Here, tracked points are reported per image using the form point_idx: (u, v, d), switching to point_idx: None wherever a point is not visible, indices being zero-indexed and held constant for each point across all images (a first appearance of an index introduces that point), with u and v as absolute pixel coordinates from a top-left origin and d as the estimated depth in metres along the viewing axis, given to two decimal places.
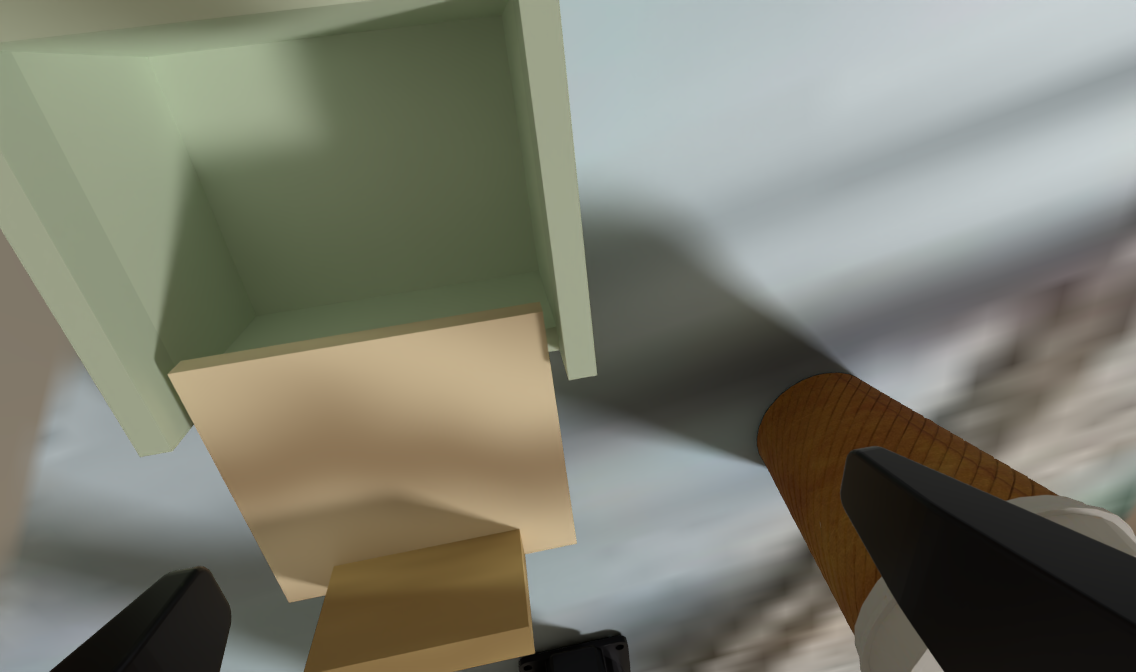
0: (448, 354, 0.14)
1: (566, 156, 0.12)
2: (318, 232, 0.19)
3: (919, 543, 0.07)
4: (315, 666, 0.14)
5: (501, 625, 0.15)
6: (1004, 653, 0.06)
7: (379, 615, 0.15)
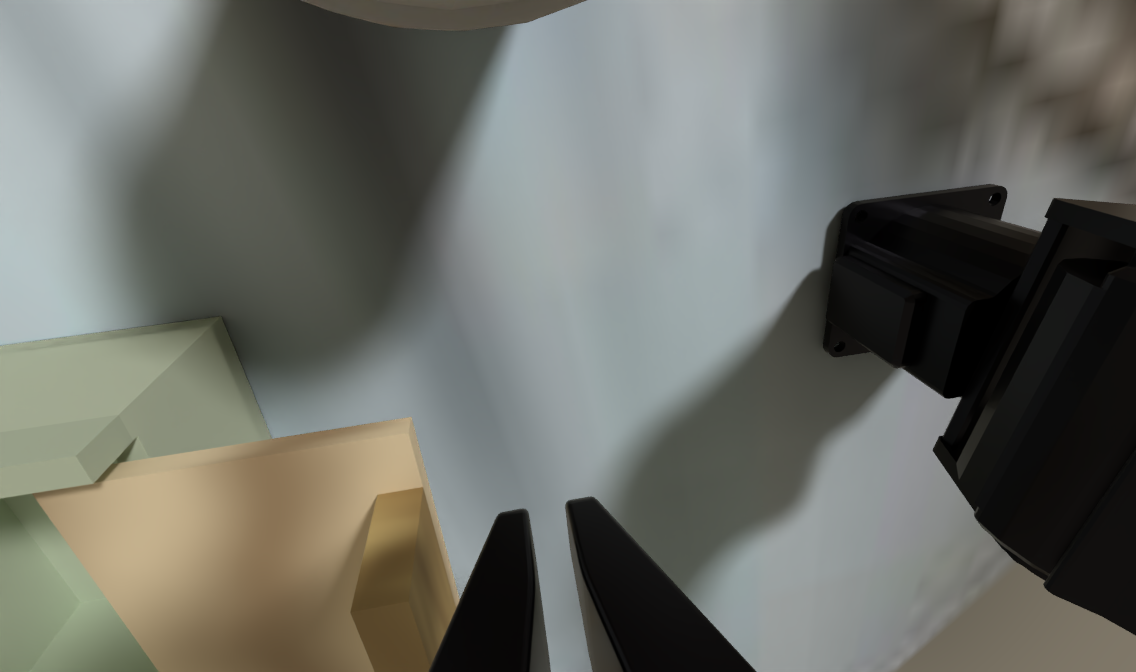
0: (119, 565, 0.14)
1: None
2: None
3: (586, 609, 0.06)
4: None
5: None
6: None
7: None
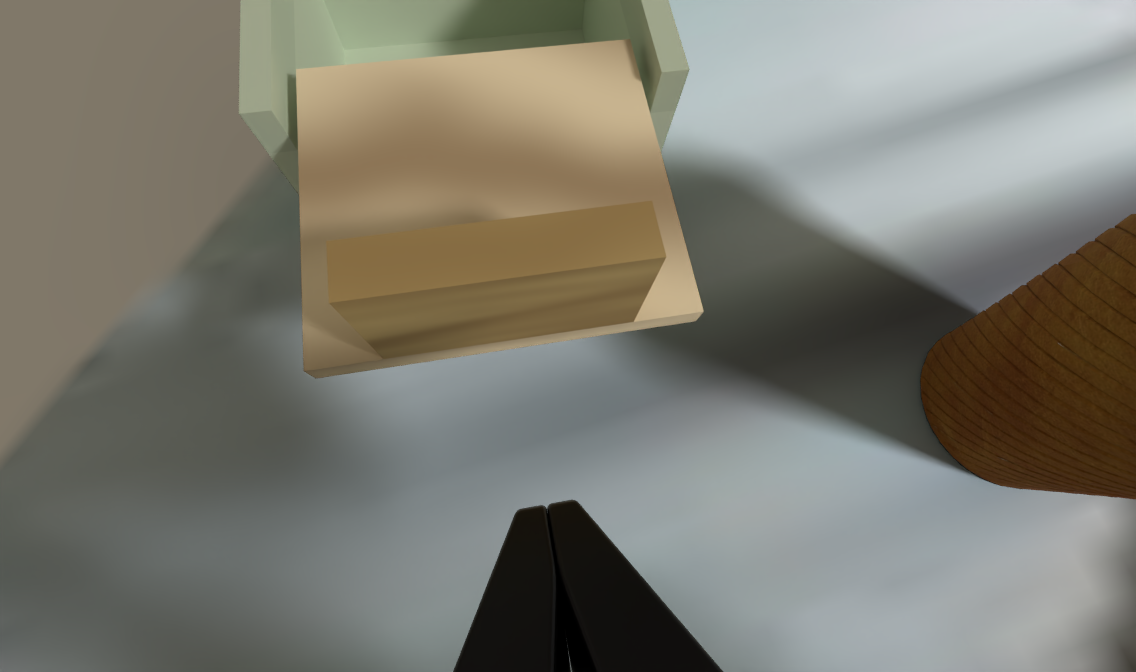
0: (545, 67, 0.15)
1: None
2: None
3: (565, 613, 0.06)
4: None
5: None
6: None
7: None
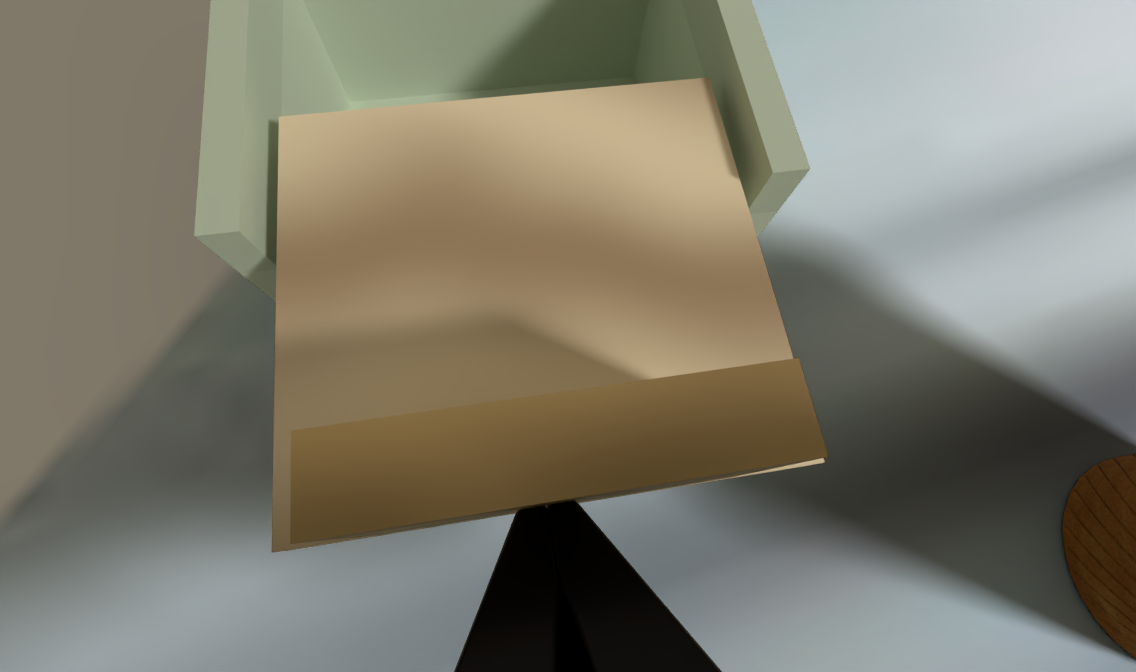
0: (601, 115, 0.12)
1: None
2: None
3: (564, 614, 0.06)
4: None
5: None
6: None
7: None
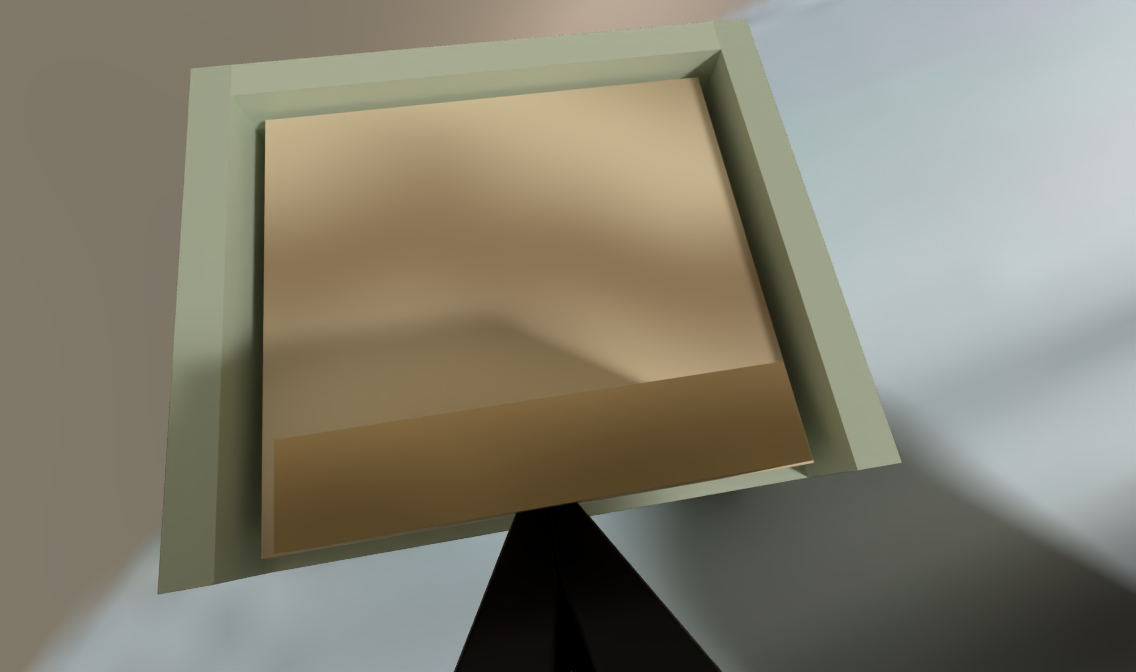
0: (589, 116, 0.12)
1: (791, 173, 0.11)
2: None
3: (564, 613, 0.06)
4: None
5: None
6: None
7: None
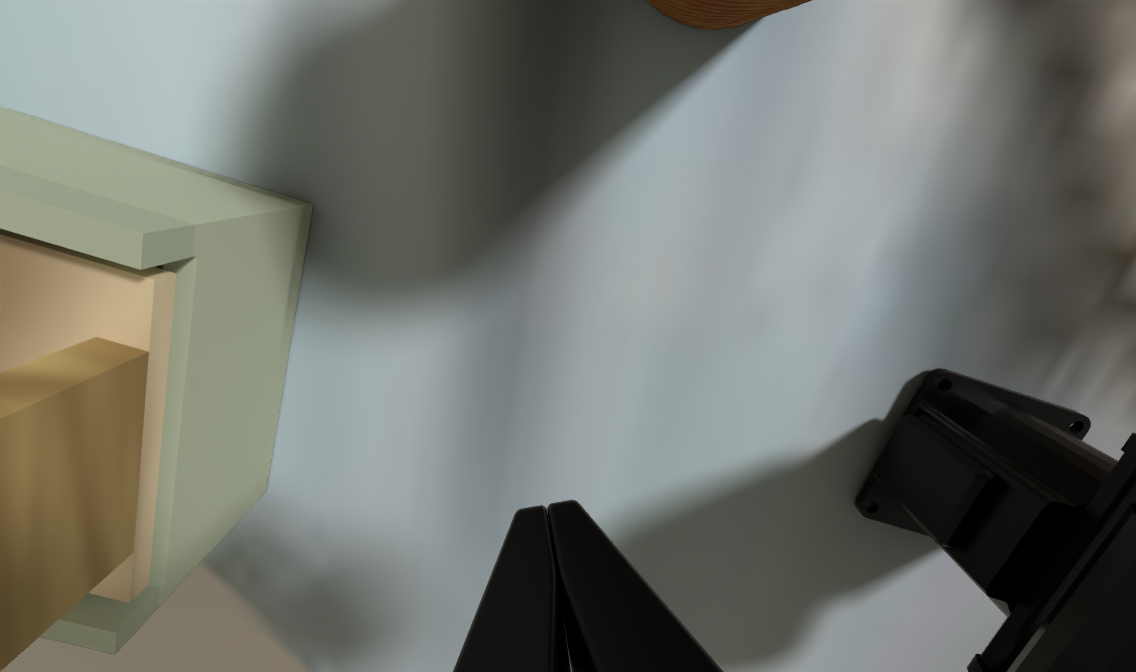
0: None
1: None
2: None
3: (565, 613, 0.06)
4: None
5: None
6: None
7: None
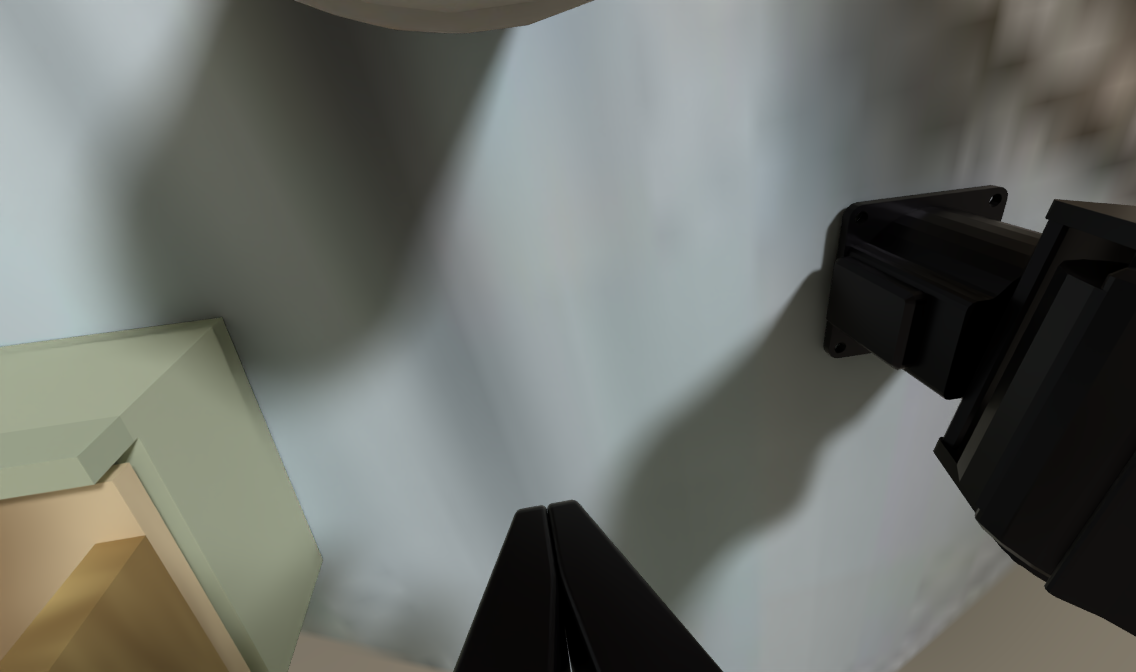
0: None
1: None
2: None
3: (565, 614, 0.06)
4: None
5: None
6: None
7: None
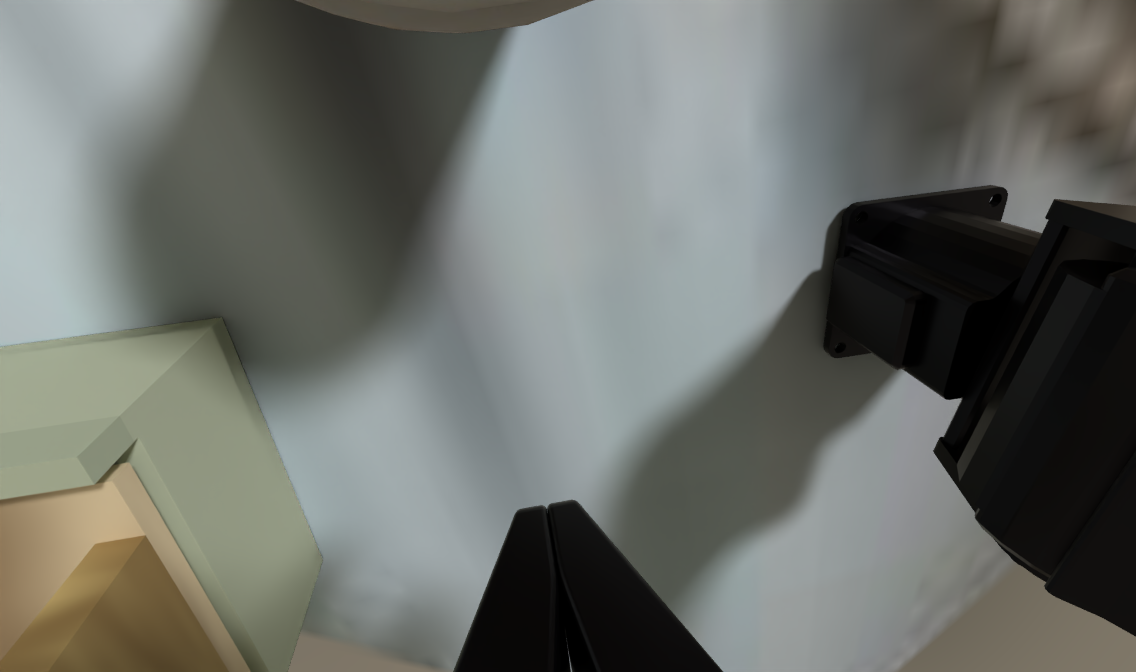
0: None
1: None
2: None
3: (565, 614, 0.06)
4: None
5: None
6: None
7: None
